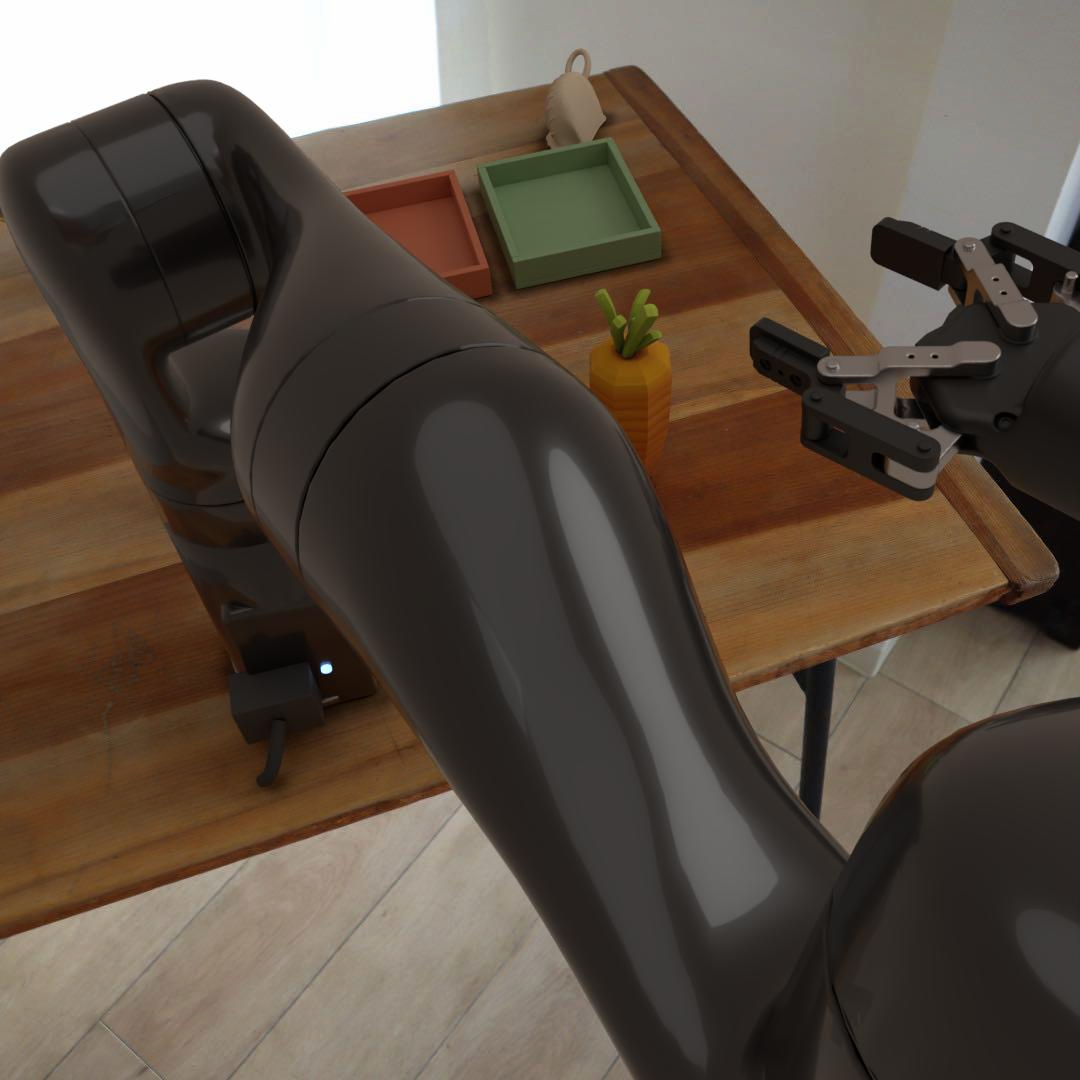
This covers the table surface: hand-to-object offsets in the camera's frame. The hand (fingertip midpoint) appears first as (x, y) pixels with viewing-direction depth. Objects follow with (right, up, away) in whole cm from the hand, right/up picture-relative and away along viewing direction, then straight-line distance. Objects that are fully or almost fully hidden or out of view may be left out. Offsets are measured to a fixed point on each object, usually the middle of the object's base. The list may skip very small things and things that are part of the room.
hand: (816, 286), depth 53 cm
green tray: (-10, +13, +39) cm, 43 cm away
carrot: (-6, -8, +22) cm, 24 cm away
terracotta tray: (-22, +11, +38) cm, 46 cm away
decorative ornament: (-9, +23, +48) cm, 54 cm away
